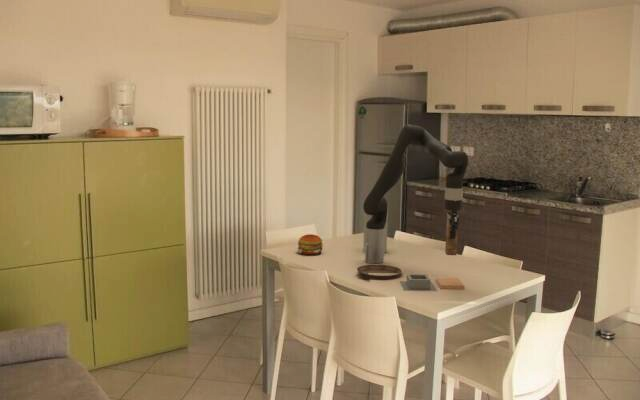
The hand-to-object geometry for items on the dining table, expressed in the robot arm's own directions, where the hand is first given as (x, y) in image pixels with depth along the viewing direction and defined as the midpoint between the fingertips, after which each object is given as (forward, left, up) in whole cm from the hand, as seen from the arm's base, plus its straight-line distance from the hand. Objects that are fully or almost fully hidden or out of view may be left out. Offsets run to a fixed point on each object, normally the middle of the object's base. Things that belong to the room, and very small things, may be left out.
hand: (451, 237), depth 259 cm
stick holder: (-14, -3, -22) cm, 26 cm away
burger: (-62, +59, -22) cm, 88 cm away
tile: (0, +5, -21) cm, 22 cm away
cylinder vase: (-27, +65, -22) cm, 74 cm away
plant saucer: (-29, +16, -22) cm, 40 cm away
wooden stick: (0, 0, -7) cm, 7 cm away
